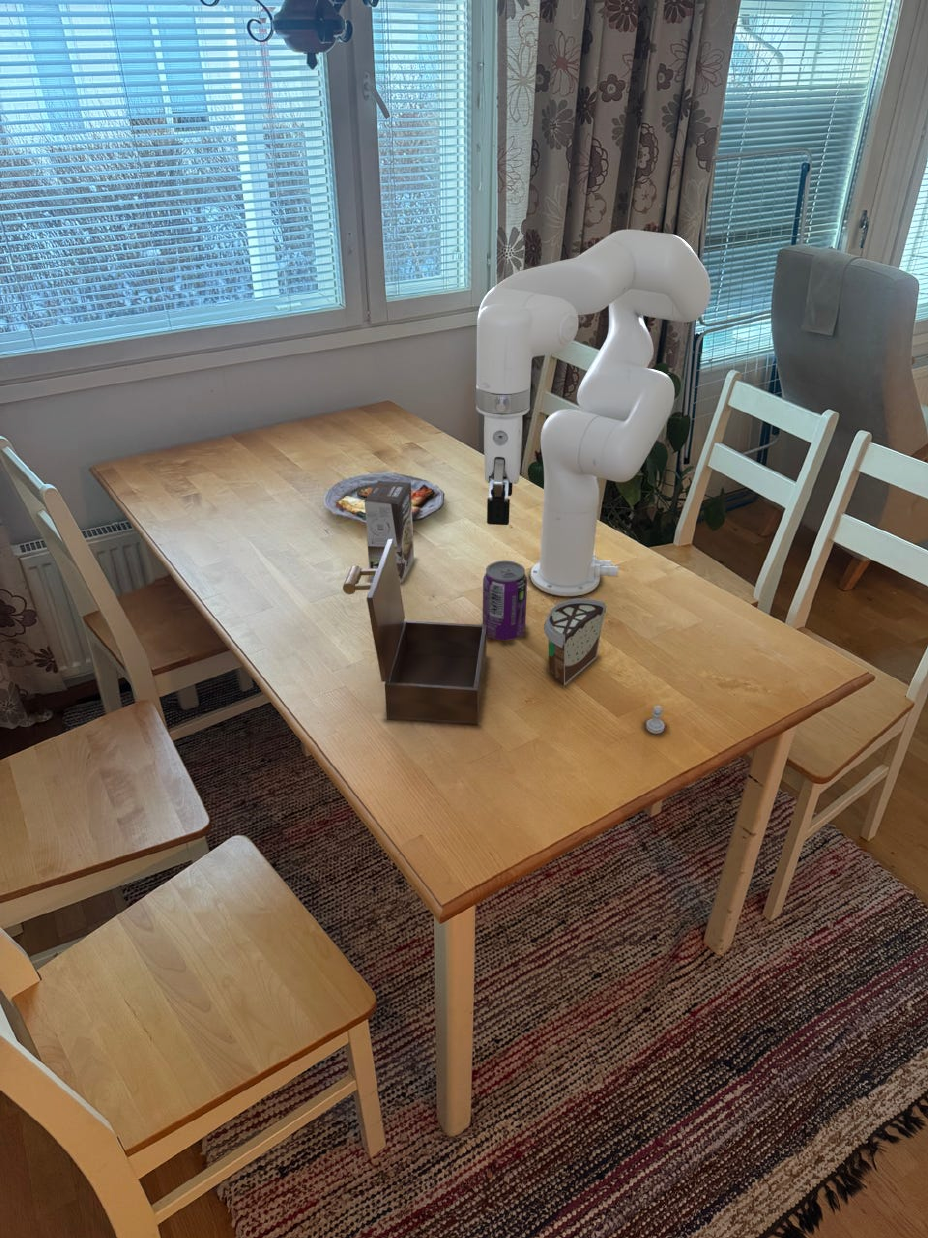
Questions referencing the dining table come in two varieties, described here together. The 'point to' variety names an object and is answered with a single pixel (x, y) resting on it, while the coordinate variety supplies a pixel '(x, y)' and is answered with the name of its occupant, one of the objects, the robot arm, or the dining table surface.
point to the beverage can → (504, 600)
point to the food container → (573, 636)
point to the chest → (437, 673)
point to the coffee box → (390, 524)
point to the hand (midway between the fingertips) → (499, 508)
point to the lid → (382, 605)
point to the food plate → (355, 490)
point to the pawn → (655, 721)
